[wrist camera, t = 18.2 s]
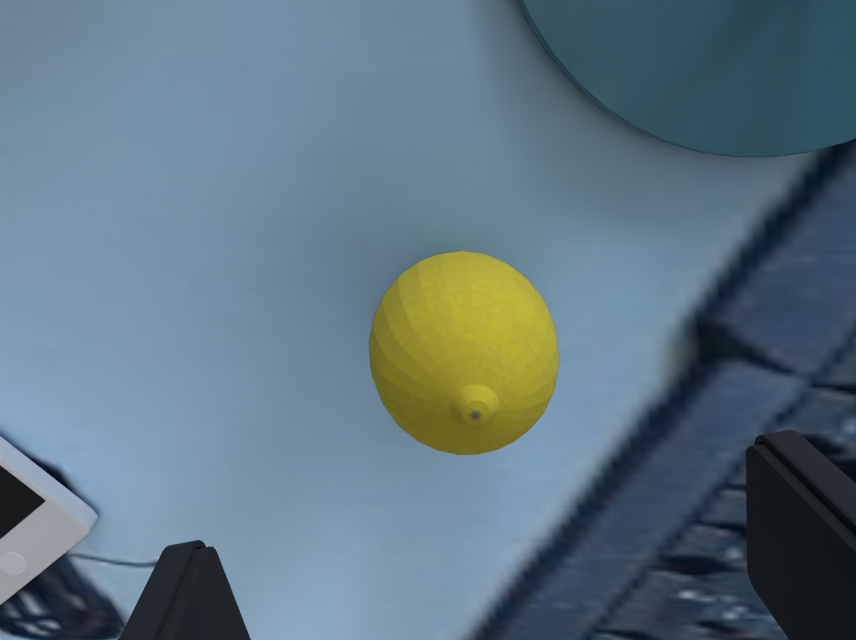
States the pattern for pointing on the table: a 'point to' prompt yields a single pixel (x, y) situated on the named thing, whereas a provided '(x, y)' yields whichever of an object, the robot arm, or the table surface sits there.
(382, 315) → the lemon
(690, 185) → the table surface
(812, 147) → the lid
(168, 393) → the table surface
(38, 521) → the smartphone
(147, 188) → the table surface
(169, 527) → the table surface
